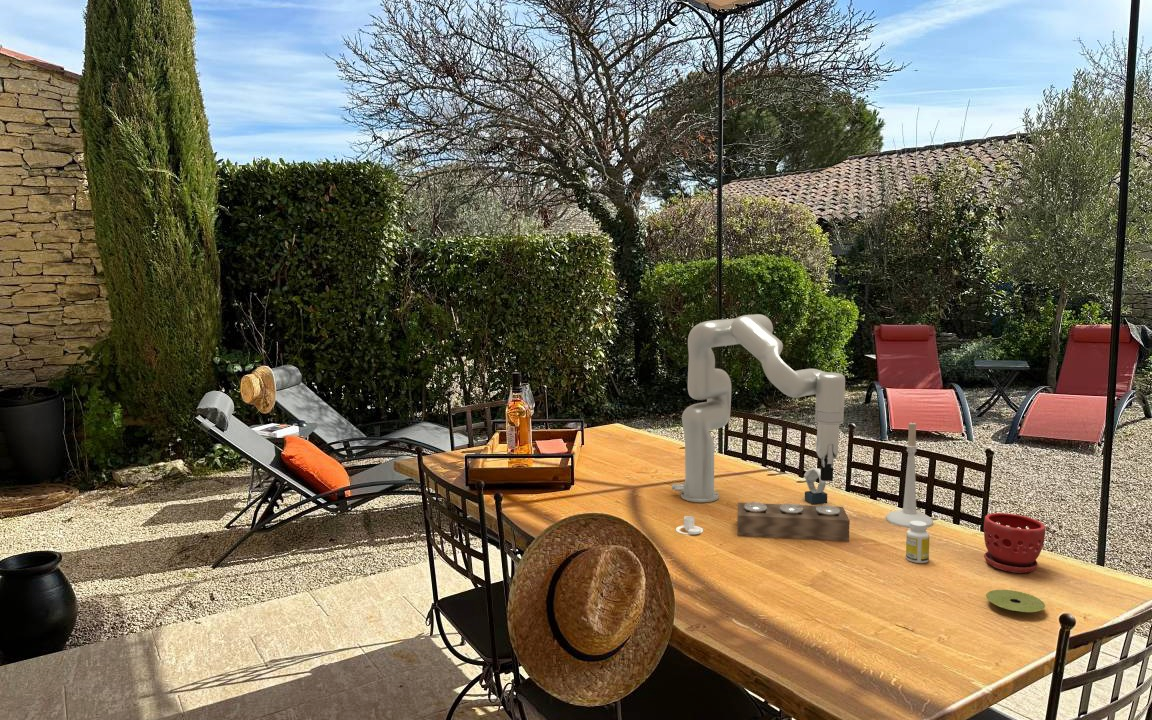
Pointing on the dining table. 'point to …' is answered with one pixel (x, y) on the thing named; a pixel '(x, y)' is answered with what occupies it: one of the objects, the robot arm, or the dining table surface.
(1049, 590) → the dining table surface
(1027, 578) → the dining table surface
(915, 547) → the supplement bottle
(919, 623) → the dining table surface
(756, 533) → the knob bar
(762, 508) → the knob
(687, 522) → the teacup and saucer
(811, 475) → the watch
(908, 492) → the candlestick
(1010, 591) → the mat
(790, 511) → the knob mid
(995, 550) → the plant pot
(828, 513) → the knob
